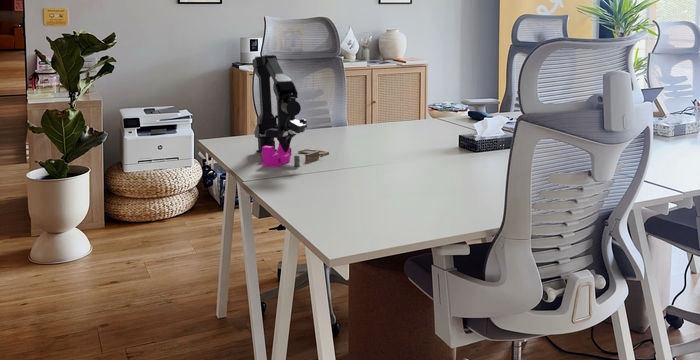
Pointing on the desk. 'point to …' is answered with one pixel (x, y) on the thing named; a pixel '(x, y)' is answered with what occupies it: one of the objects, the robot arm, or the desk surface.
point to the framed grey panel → (306, 155)
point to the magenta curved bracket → (275, 156)
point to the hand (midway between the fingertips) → (285, 152)
